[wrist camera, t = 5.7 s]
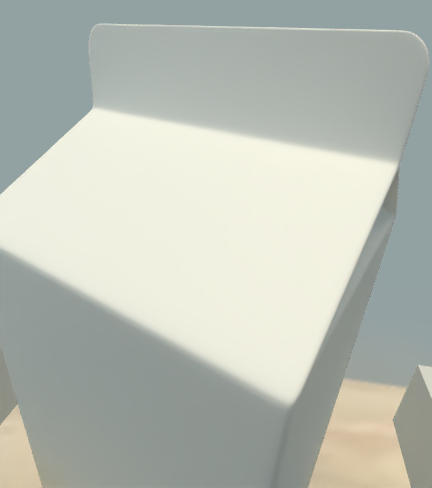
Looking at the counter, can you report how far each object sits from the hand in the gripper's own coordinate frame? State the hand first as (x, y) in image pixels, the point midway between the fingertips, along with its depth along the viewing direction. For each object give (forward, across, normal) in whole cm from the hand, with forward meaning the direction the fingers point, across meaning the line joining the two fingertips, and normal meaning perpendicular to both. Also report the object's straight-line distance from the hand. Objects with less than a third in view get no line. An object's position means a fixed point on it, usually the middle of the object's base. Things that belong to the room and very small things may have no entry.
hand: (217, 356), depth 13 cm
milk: (-3, 0, -12) cm, 13 cm away
